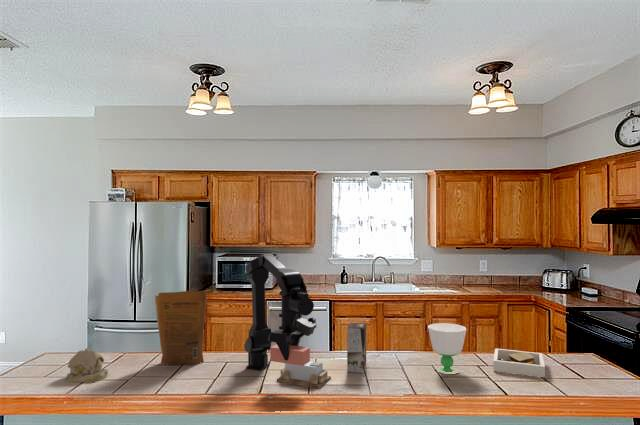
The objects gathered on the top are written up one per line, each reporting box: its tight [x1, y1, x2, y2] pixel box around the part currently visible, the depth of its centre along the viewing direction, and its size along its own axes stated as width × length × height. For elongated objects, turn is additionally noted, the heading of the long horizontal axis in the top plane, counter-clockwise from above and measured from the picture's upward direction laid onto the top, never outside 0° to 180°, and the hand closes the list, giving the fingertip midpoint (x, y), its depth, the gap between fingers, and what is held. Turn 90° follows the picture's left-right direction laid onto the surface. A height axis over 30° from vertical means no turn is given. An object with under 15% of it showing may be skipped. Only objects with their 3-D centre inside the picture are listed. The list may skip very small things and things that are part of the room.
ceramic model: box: [66, 348, 109, 383], centre depth 159 cm, size 14×11×10 cm
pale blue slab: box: [284, 360, 324, 381], centre depth 155 cm, size 12×5×5 cm, turn 67°
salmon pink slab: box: [269, 344, 311, 366], centre depth 148 cm, size 12×5×4 cm, turn 67°
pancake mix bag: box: [154, 290, 208, 366], centre depth 174 cm, size 7×19×28 cm, turn 92°
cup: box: [427, 322, 467, 372], centre depth 165 cm, size 14×14×16 cm
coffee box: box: [346, 322, 367, 374], centre depth 167 cm, size 9×6×16 cm
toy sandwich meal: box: [500, 351, 536, 365], centre depth 169 cm, size 12×14×5 cm
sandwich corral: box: [492, 348, 546, 378], centre depth 168 cm, size 17×17×4 cm
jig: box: [276, 366, 332, 389], centre depth 155 cm, size 16×10×3 cm, turn 66°
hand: (290, 357), depth 148 cm, fingers closed on salmon pink slab, 5 cm apart
